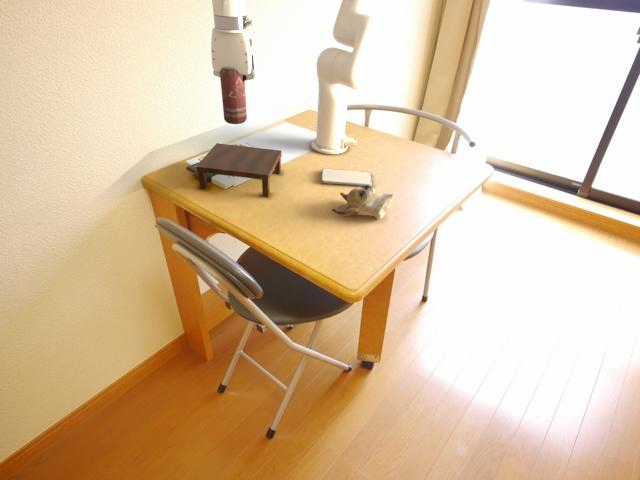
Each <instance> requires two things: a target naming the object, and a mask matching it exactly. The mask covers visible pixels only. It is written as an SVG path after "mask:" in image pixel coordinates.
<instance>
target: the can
mask: <svg viewBox="0 0 640 480" xmlns="http://www.w3.org/2000/svg"><path fill="white" fill-rule="evenodd" d="M243 76H244V75H240V74H239V72H238V71H237V70H227V69H223V68H222V69H221V71H220V77H219V79H220V89H221V99H222V101H221V102H222V112H223V120H224V121H225V122H226V123H227V124H231V125H242V124H244V123H245V122H246V121H247V119H248V117H247V116H248V115H247V97H246V96H247V95H246V80H245V81H244V82H243Z"/></svg>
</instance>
